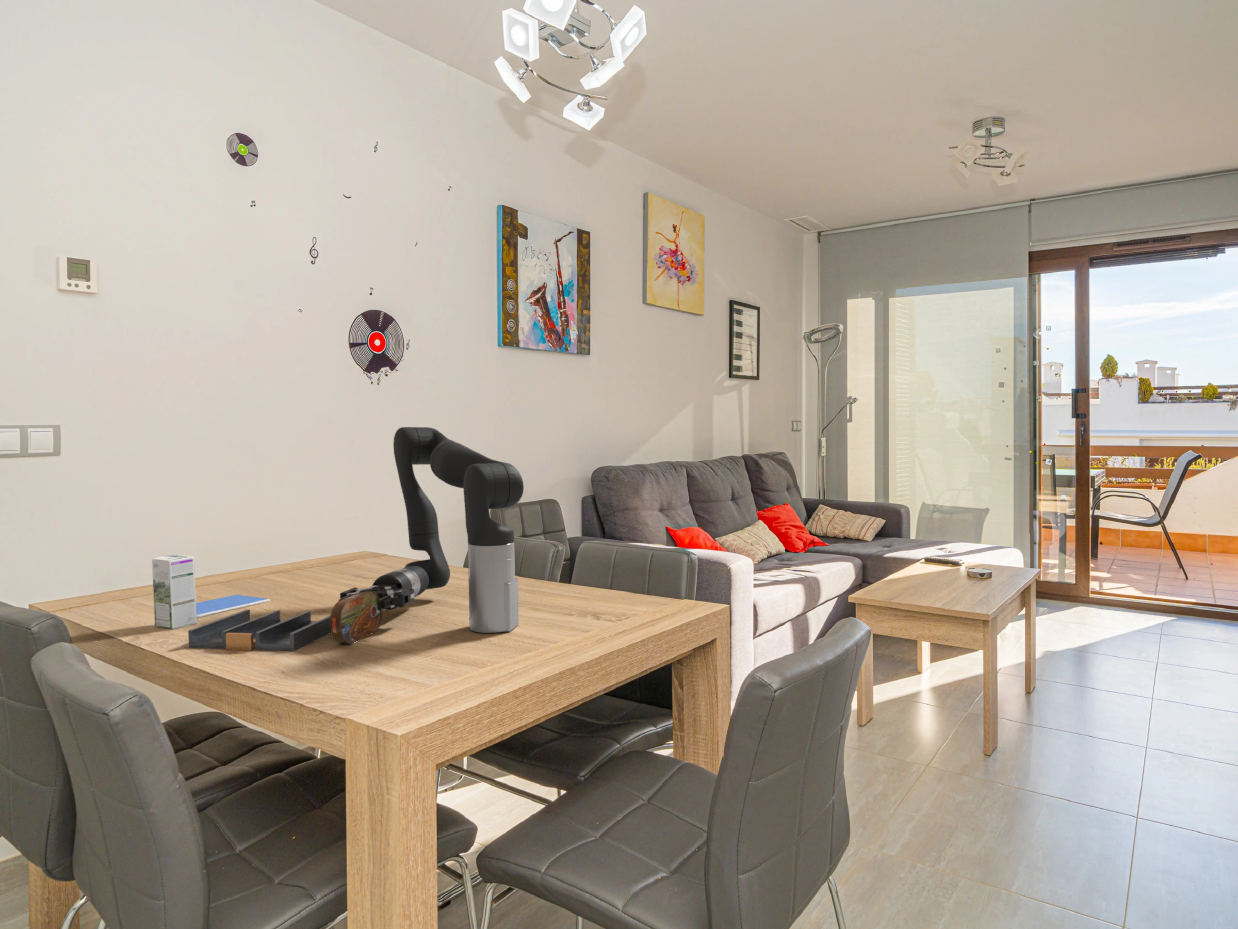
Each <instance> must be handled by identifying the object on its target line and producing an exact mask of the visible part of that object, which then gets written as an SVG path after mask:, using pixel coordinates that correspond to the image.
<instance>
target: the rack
mask: <svg viewBox="0 0 1238 929" xmlns="http://www.w3.org/2000/svg"><path fill="white" fill-rule="evenodd" d="M311 613H312V612H311V611H310V610H306V611H304V612H302V613H298V614H297V615H294V616H292V617H290V618H288V619H287V618H286V619H281V609H278V610H276V609H275V610H274V611H271V612H269V613H266V614H263V615H260V616H258V617H256V618H251V610H250V609H244V610H241V611H238V612H236V613H233V614H230V615H228V616H225V617H222V618H220V619H216V620H214V621H210V622H208V623H206V624H203V625H199V626H196V627H194V628H191V629H189V630H188V634H187V635H188V648H189V649H190V648H191V649H193V648H194V649H196V648H197V649H221V650H222V649H225V650H227V651H228V650H229V651H249V650H251V651H253V649H255V650H254V651H278V650H284V651H283V652H285V651H287V652H295V651H297V650H299V649H301V648H303V647H305V646H307V645H309V644H311V643H313V642H316V641H317V640H319V639H322V638H323V637H326V636H327V634H328V635H329V633H330V634H332V633H331V626H330V615H328V616H326V617H323V618H321V619H318V620H312V619H311V617H312V616H311ZM325 635H326V636H325ZM315 640H316V641H315Z"/></svg>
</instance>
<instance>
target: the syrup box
mask: <svg viewBox="0 0 1238 929" xmlns="http://www.w3.org/2000/svg"><path fill="white" fill-rule="evenodd" d="M151 563H152V564H151V565H152V566H151V567H152V587H153V588H152V590H153V609H154V612H153V613H154V626H155V627H157V628H161V629H169V630H174V629H180V628H184V627H189V626H193V625H196V624H197V622H198V621H197V620H198V618H197V617H196V603H197V601H196V600H197V599H196V595H197V594H196V577H195V576H196V573H195V556H194V555H184V554H170V555H169V554H167V555H161V556H158V557H154V558H151ZM188 625H189V626H188Z"/></svg>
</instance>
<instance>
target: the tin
mask: <svg viewBox="0 0 1238 929" xmlns="http://www.w3.org/2000/svg"><path fill="white" fill-rule="evenodd" d="M378 599H380V598H379V596H378V594H377V593H375V592H374V591H369V592H360V593H358V594H355V595H353V596H350V597H348V598H346V599H343V600H340V599H339V600H340V601H337V602H336V603H335V604H334V605H333V608H332V609H331V612H330V615H329V616H330V626H331V633H330V634H331V637H332V638H333V640H334V641H335V642H336V643H338V644H342V643H344V644H345V643H347V644H349V645H352V643H354V642H356V641H358V640H360V639H361V640H363V639H365V638H367V637H368V636H367V635H369V636H371V635H372V634H371V633H373V634H375V633H376V632H377V631H378V629H379V627H380V626H381V623H382V622H381V621H382V618H383V610H382V611H378V609H377V601H378ZM374 632H375V633H374ZM370 634H371V635H370ZM366 636H367V637H366ZM364 637H365V638H364ZM361 640H360V641H361ZM358 642H359V641H358ZM356 643H357V642H356ZM354 644H355V643H354ZM345 645H346V644H345Z"/></svg>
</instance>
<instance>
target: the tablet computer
mask: <svg viewBox="0 0 1238 929" xmlns="http://www.w3.org/2000/svg"><path fill="white" fill-rule="evenodd" d="M267 601H269V602H271V600H270V598H268V597H266V598H265V597H257V596H253V595H252V596H250V595H242V594H232V595H228V596H223V597H219V598H215V599H214V598H212V599H208V600H205V601H199V602H196V617H197V619H199V618H203V616H204V617H207V615H208V616H211V615H216V613H217V614H221V613H225V611H226V612H229V610H230V611H233V609H234V610H239V609H242V607H243V608H247V607H250V606H251V605H252V606H255V605H260V603H261V604H264V603H263V602H265V603H268V602H267ZM246 606H247V607H246ZM238 608H239V609H238ZM220 612H221V613H220ZM198 617H199V618H198Z"/></svg>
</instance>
